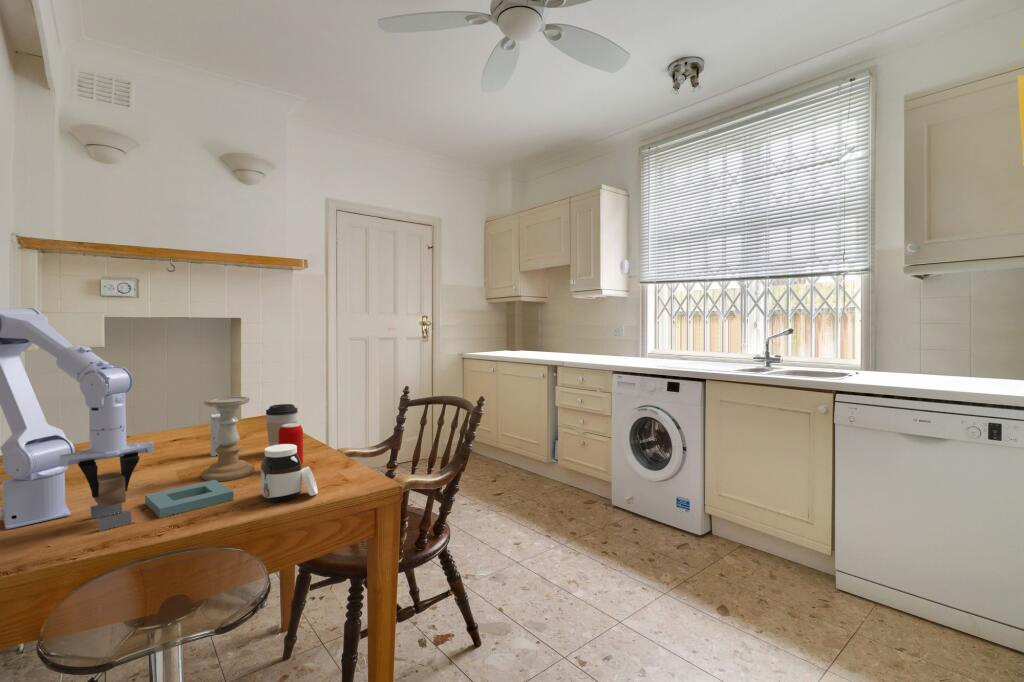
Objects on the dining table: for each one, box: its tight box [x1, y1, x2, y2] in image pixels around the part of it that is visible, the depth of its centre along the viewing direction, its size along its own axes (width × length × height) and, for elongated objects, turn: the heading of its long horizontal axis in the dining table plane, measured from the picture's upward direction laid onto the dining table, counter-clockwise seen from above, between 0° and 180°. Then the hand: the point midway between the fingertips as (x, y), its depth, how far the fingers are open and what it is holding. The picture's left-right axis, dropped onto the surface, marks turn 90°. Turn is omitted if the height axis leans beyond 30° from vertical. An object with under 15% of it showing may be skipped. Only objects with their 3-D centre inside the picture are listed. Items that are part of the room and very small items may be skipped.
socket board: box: [144, 480, 234, 519], centre depth 110 cm, size 14×12×2 cm
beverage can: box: [279, 422, 304, 466], centre depth 136 cm, size 6×6×12 cm
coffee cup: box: [265, 403, 299, 447], centre depth 151 cm, size 9×9×15 cm
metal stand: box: [89, 503, 132, 532], centre depth 99 cm, size 5×10×2 cm, turn 49°
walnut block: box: [93, 471, 127, 507], centre depth 99 cm, size 4×6×5 cm, turn 49°
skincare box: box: [210, 413, 220, 457], centre depth 149 cm, size 6×4×12 cm
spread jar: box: [260, 444, 319, 503], centre depth 114 cm, size 12×11×12 cm
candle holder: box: [200, 395, 255, 482], centre depth 129 cm, size 12×12×20 cm
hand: (109, 493), depth 99 cm, fingers closed on walnut block, 4 cm apart
